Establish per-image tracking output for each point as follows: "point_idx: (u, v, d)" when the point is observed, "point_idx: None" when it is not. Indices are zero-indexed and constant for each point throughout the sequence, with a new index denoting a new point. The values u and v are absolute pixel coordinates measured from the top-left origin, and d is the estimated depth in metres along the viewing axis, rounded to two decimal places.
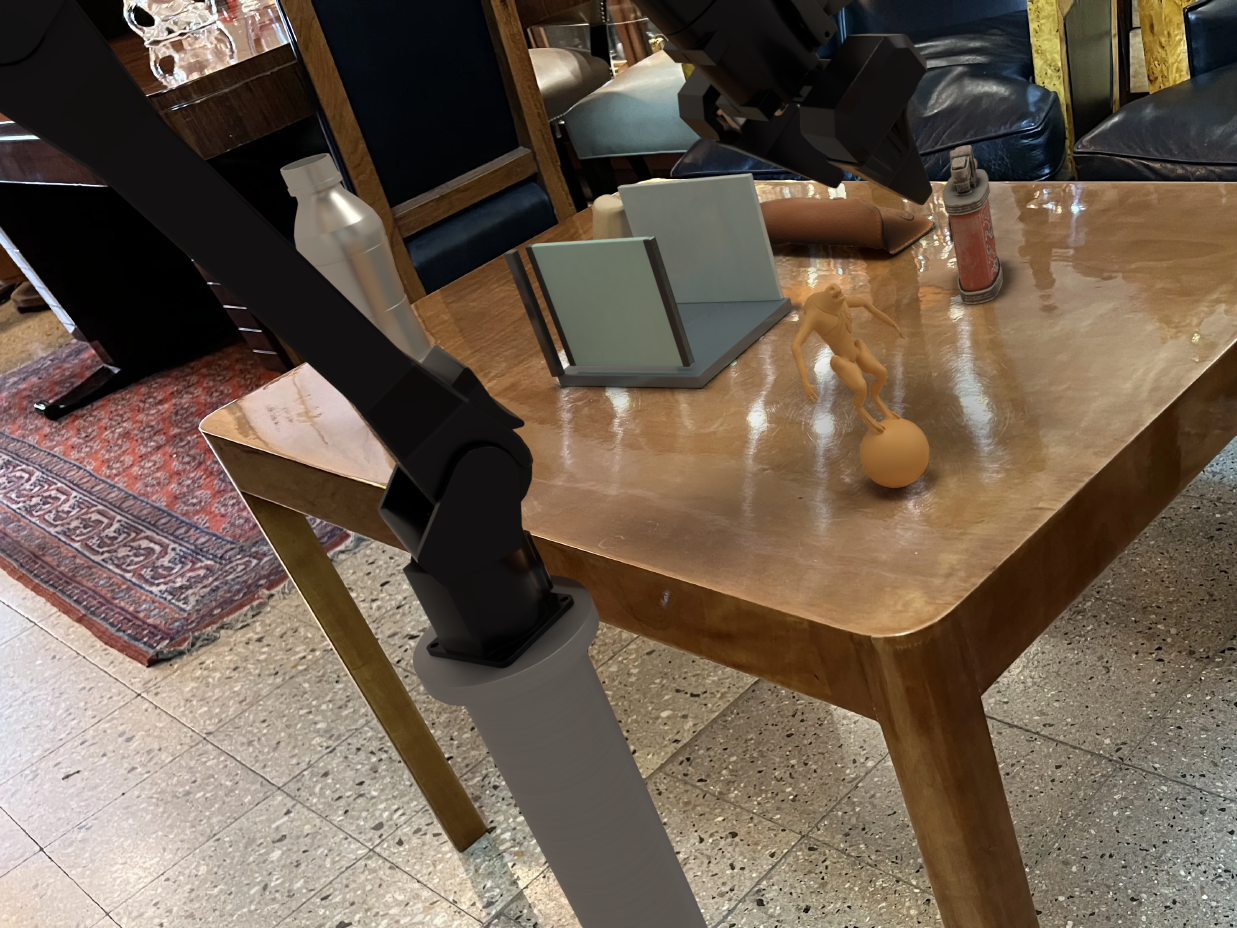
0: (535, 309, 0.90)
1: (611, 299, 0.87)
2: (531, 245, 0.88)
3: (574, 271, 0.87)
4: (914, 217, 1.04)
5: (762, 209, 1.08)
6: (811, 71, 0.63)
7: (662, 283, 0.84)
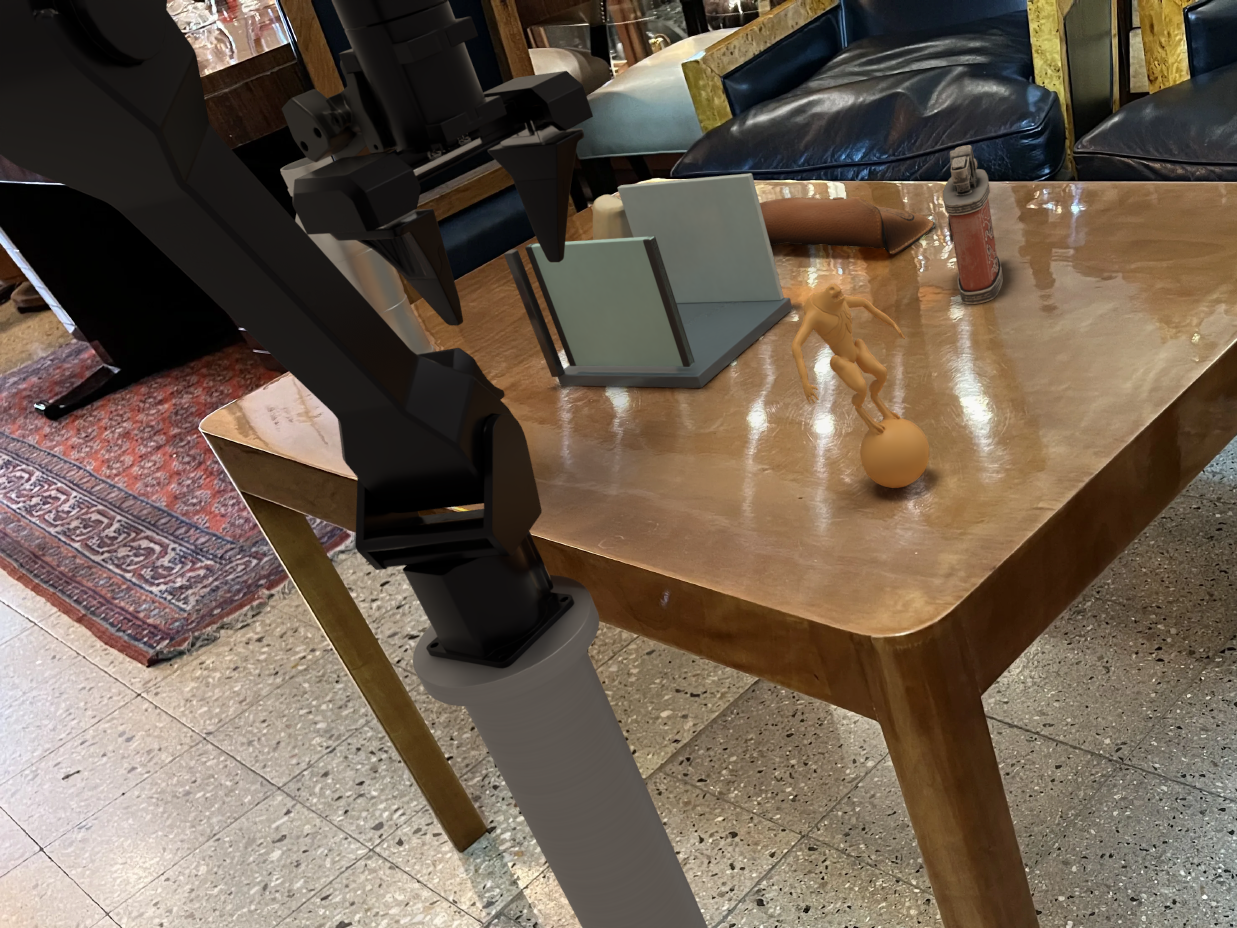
0: (535, 309, 0.90)
1: (611, 299, 0.87)
2: (531, 245, 0.88)
3: (574, 271, 0.87)
4: (914, 217, 1.04)
5: (762, 209, 1.08)
6: None
7: (662, 283, 0.84)
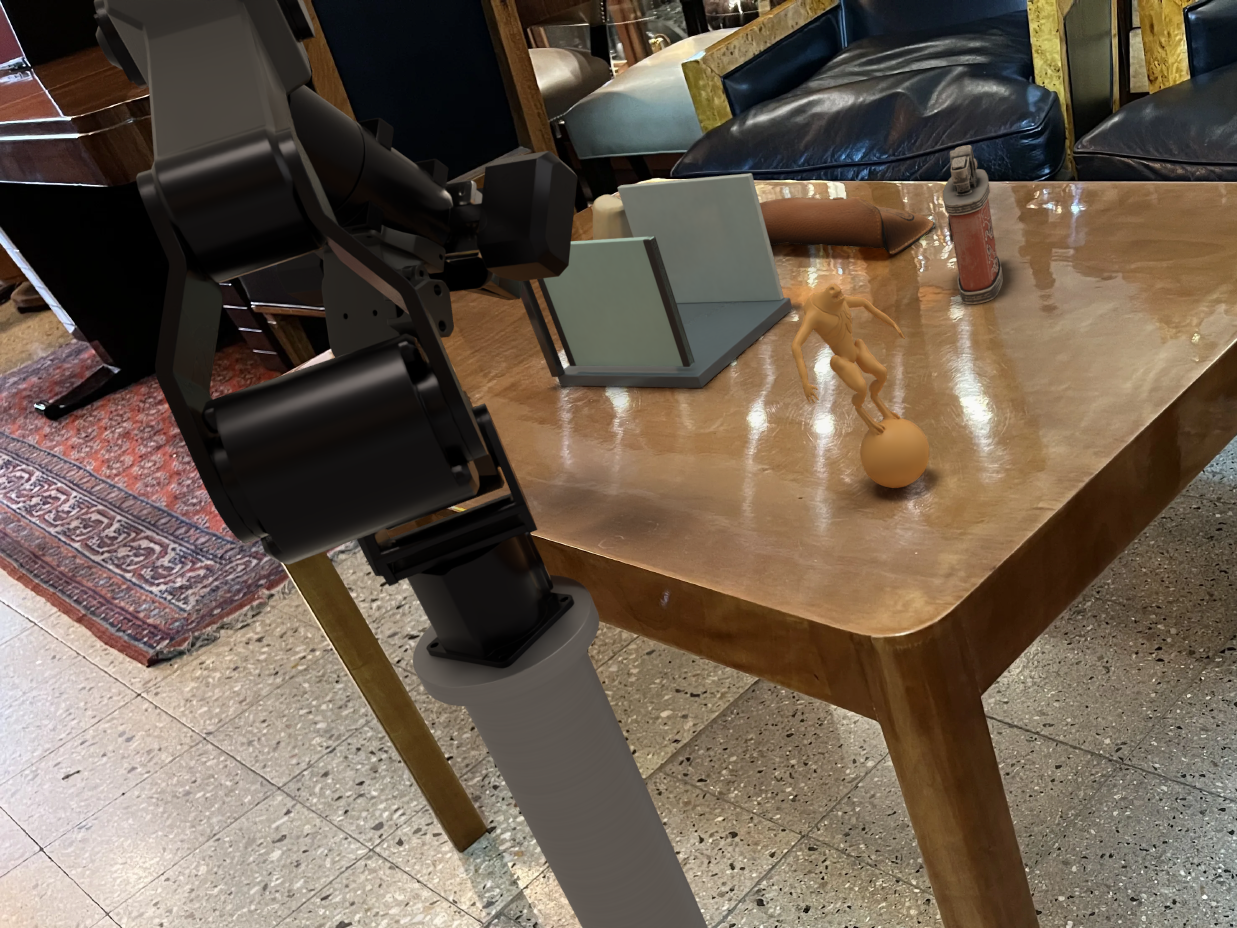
0: (535, 309, 0.90)
1: (611, 299, 0.87)
2: None
3: (574, 271, 0.87)
4: (914, 217, 1.04)
5: (762, 209, 1.08)
6: None
7: (662, 283, 0.84)
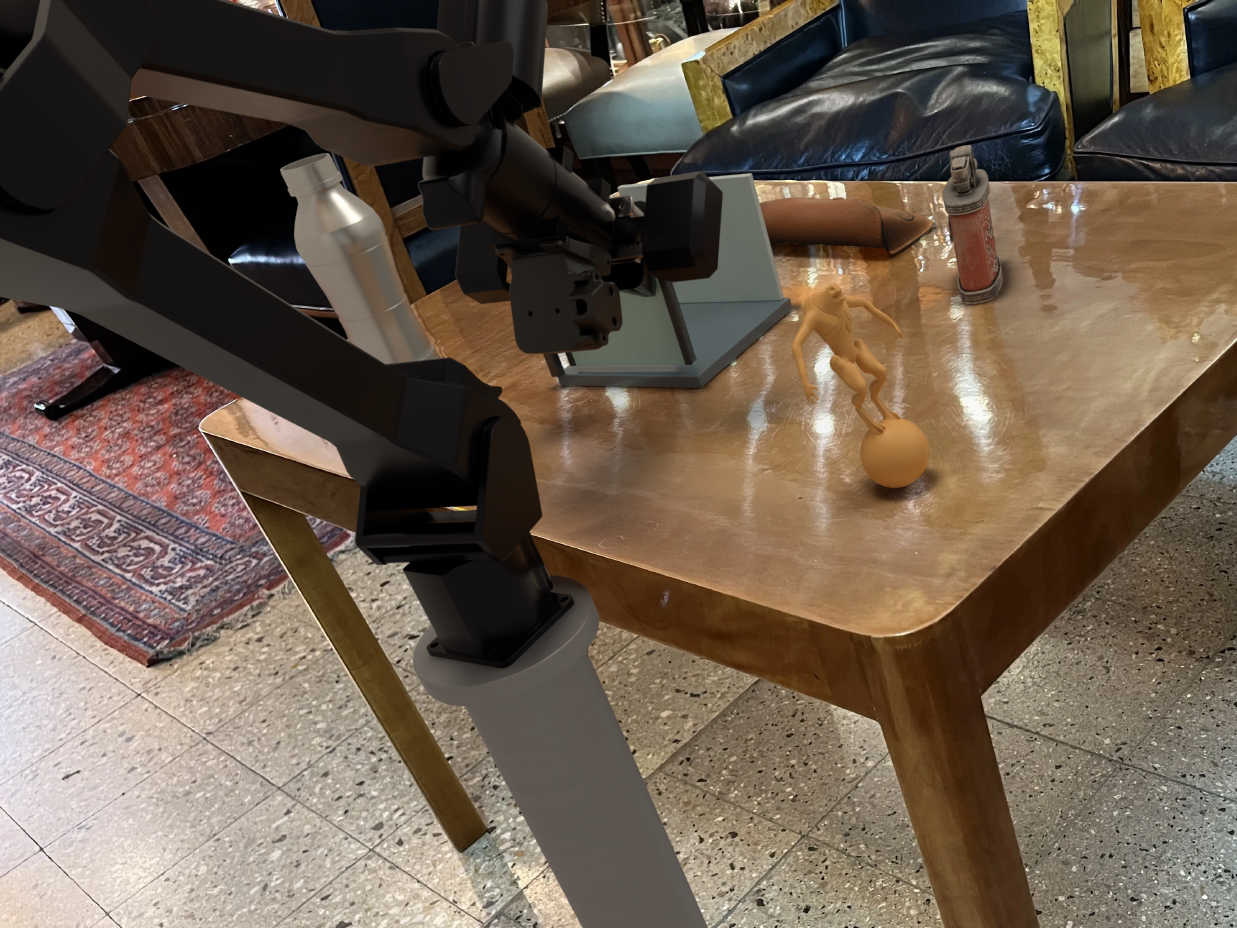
0: None
1: None
2: None
3: None
4: (914, 217, 1.04)
5: (762, 209, 1.08)
6: None
7: (664, 281, 0.84)
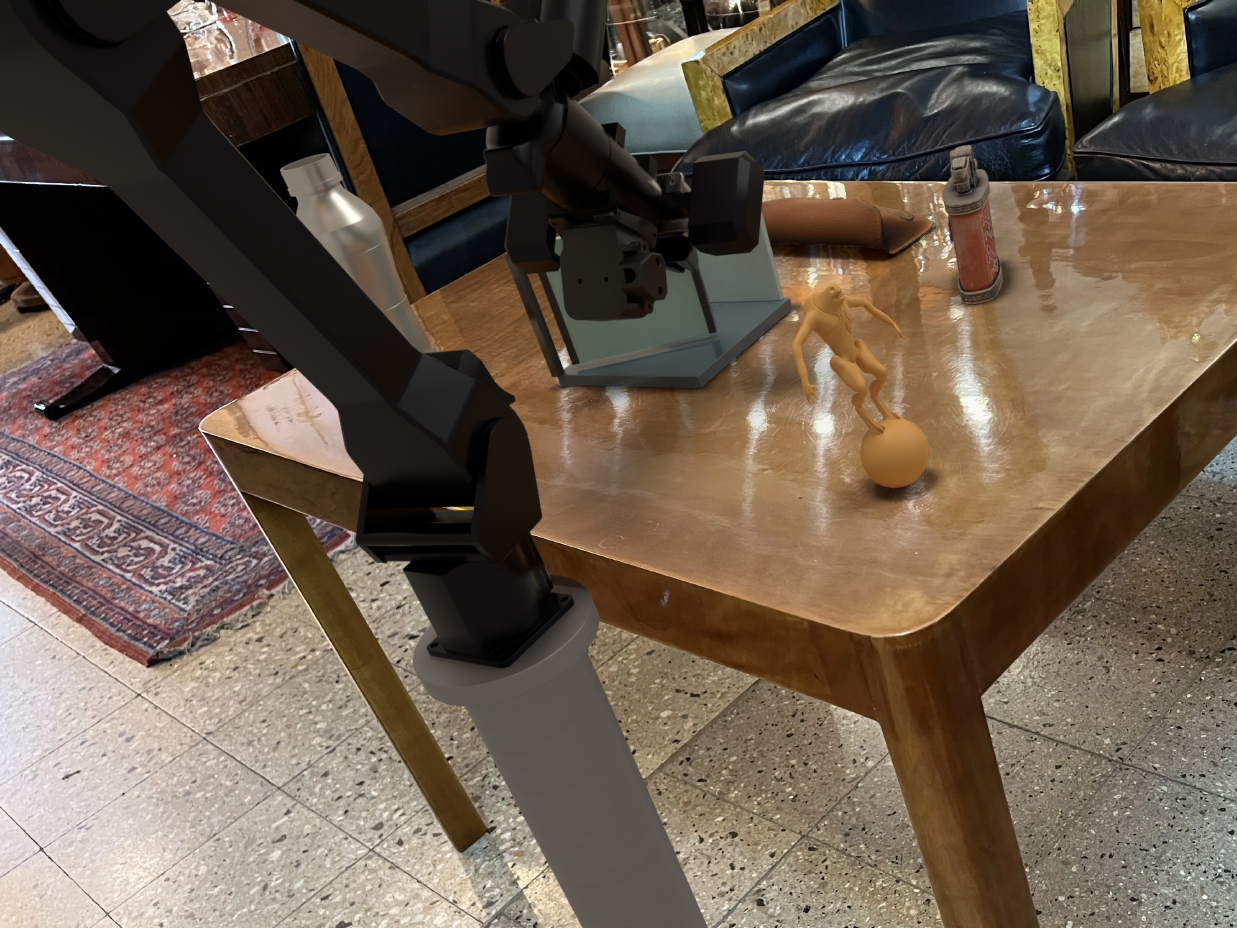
0: (535, 309, 0.90)
1: None
2: None
3: None
4: (914, 217, 1.04)
5: (762, 209, 1.08)
6: None
7: None
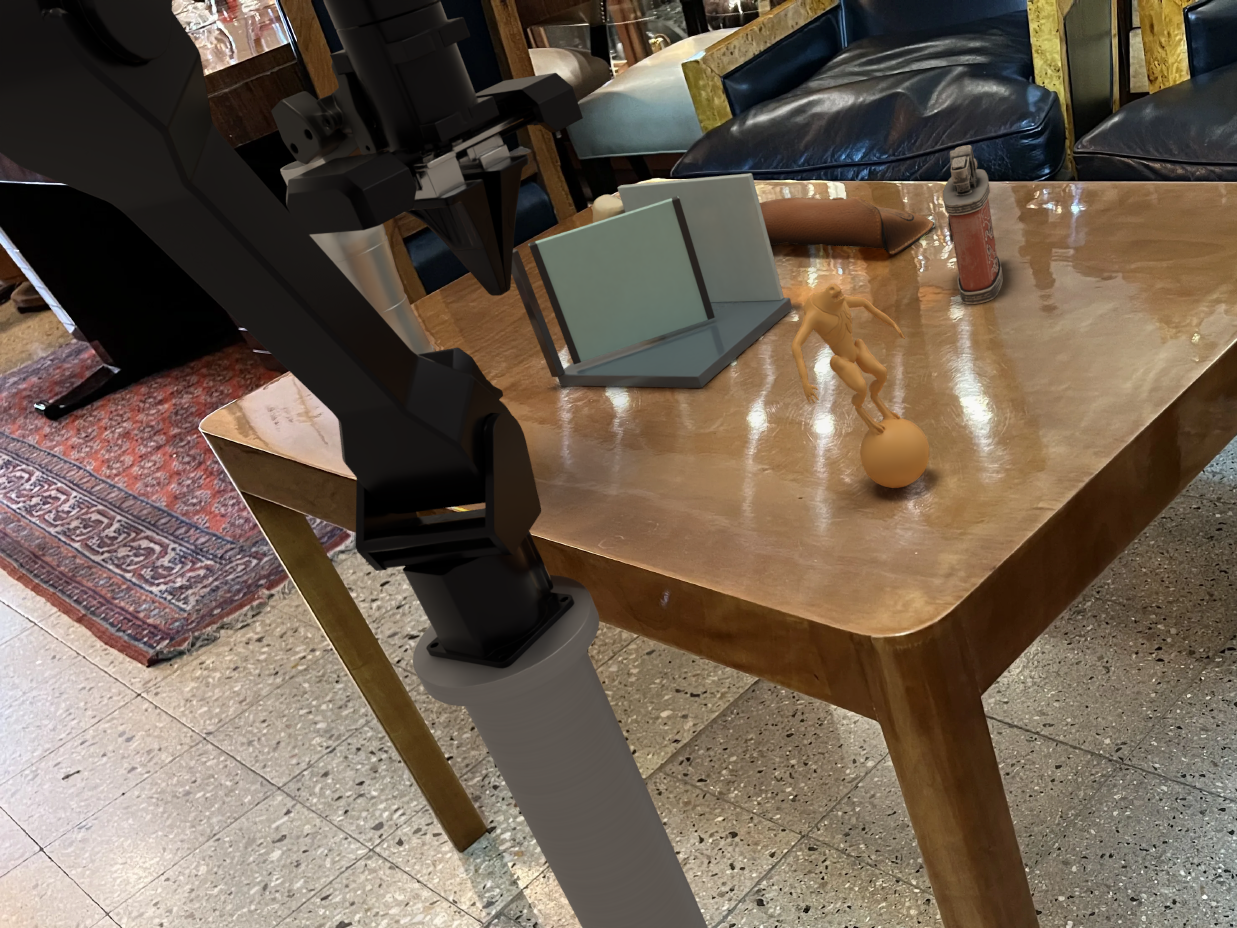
0: (535, 309, 0.90)
1: (630, 273, 0.91)
2: (534, 243, 0.88)
3: (588, 255, 0.90)
4: (914, 217, 1.04)
5: (762, 209, 1.08)
6: None
7: (690, 239, 0.91)
